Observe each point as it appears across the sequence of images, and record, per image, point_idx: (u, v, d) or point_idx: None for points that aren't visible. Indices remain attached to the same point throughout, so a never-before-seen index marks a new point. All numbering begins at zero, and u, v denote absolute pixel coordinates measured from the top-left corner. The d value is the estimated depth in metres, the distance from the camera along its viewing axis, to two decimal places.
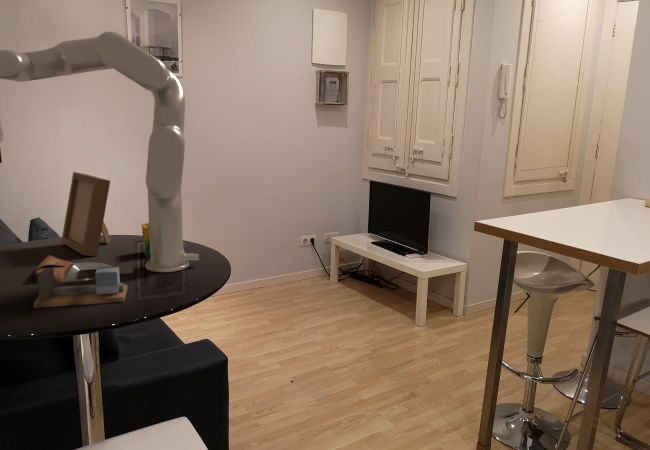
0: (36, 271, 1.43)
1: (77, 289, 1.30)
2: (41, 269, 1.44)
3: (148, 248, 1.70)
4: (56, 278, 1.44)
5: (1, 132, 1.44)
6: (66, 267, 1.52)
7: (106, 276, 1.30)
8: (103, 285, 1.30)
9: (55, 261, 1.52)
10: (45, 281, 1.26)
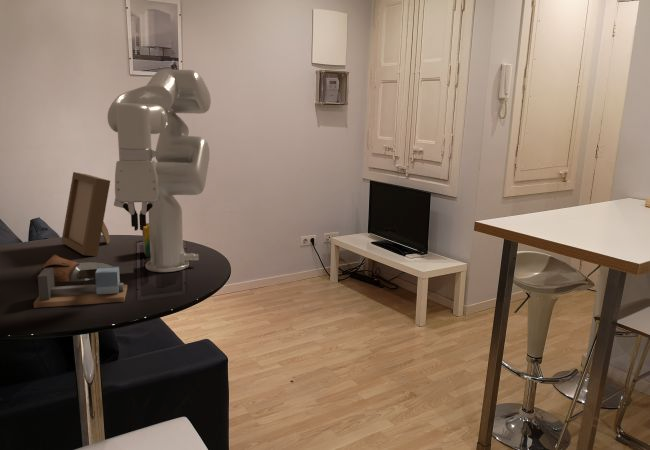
0: (41, 271, 1.43)
1: (77, 289, 1.30)
2: None
3: (148, 248, 1.70)
4: (61, 278, 1.44)
5: None
6: (71, 267, 1.53)
7: (106, 276, 1.30)
8: (103, 285, 1.30)
9: (60, 261, 1.52)
10: (45, 281, 1.26)
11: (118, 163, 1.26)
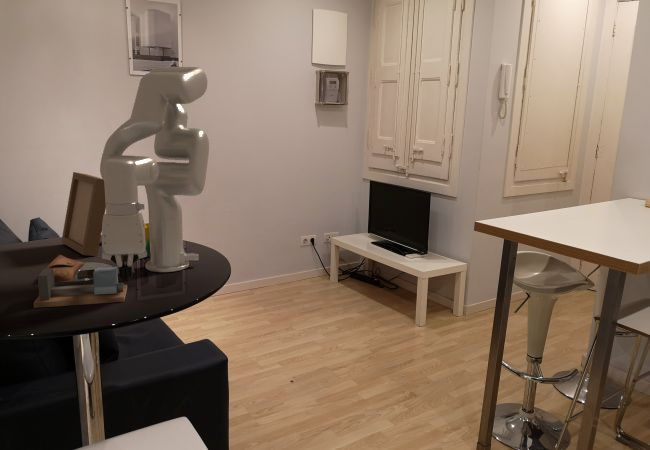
0: None
1: (77, 289, 1.30)
2: None
3: (148, 248, 1.70)
4: (65, 278, 1.45)
5: None
6: (76, 267, 1.53)
7: (104, 276, 1.30)
8: (101, 285, 1.30)
9: (65, 261, 1.52)
10: (45, 281, 1.26)
11: (105, 217, 1.28)
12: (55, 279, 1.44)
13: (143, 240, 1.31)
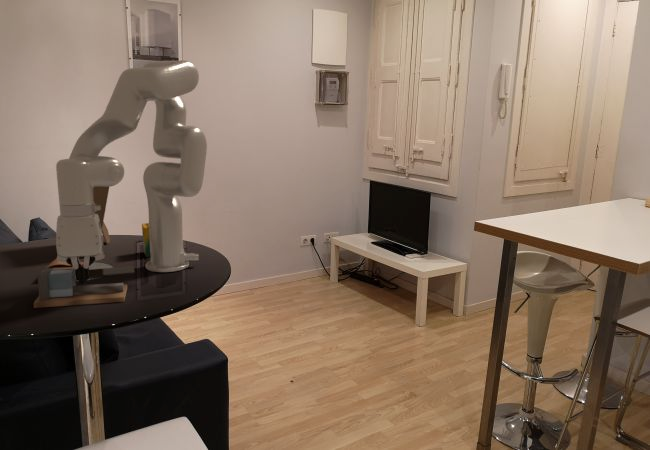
0: None
1: (77, 289, 1.30)
2: None
3: (148, 248, 1.70)
4: None
5: None
6: None
7: (59, 279, 1.27)
8: (57, 288, 1.27)
9: None
10: (45, 281, 1.26)
11: (59, 219, 1.25)
12: None
13: (99, 242, 1.29)
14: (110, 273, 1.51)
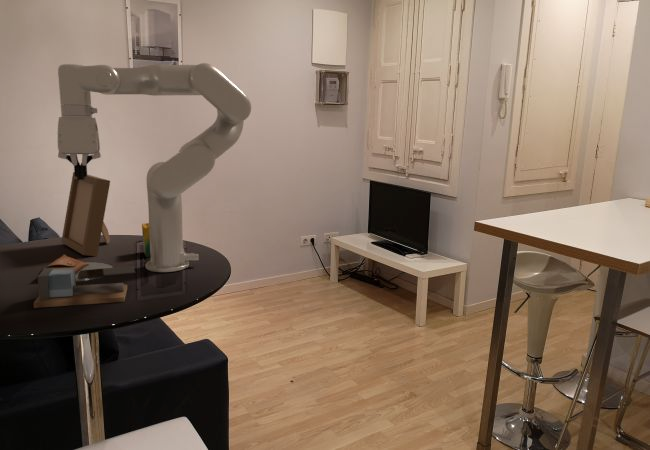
0: (42, 270, 1.43)
1: (77, 289, 1.30)
2: None
3: (148, 248, 1.70)
4: None
5: None
6: (76, 267, 1.52)
7: (59, 279, 1.27)
8: (57, 288, 1.27)
9: (66, 261, 1.52)
10: (45, 281, 1.26)
11: (60, 118, 1.40)
12: None
13: (96, 141, 1.44)
14: (111, 273, 1.51)
